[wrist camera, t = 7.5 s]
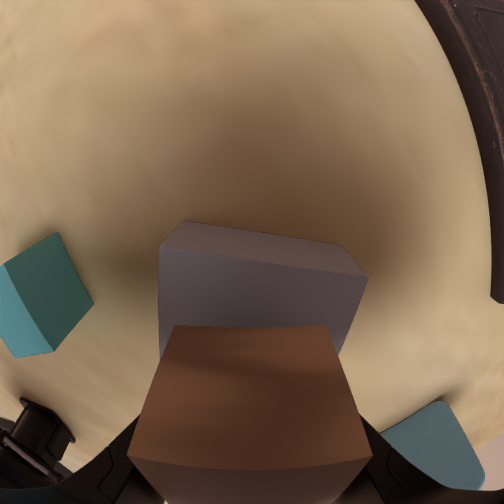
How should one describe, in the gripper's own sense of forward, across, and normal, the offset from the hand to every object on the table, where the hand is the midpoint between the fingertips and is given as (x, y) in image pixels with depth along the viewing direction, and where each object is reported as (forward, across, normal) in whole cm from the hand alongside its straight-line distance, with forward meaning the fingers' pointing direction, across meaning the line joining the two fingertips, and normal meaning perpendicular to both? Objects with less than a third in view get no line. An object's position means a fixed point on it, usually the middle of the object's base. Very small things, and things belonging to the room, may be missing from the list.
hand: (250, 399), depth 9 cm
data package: (+7, -15, +17) cm, 24 cm away
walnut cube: (+1, 0, 0) cm, 1 cm away
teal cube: (+7, +13, -1) cm, 15 cm away
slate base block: (+7, 0, 0) cm, 7 cm away
